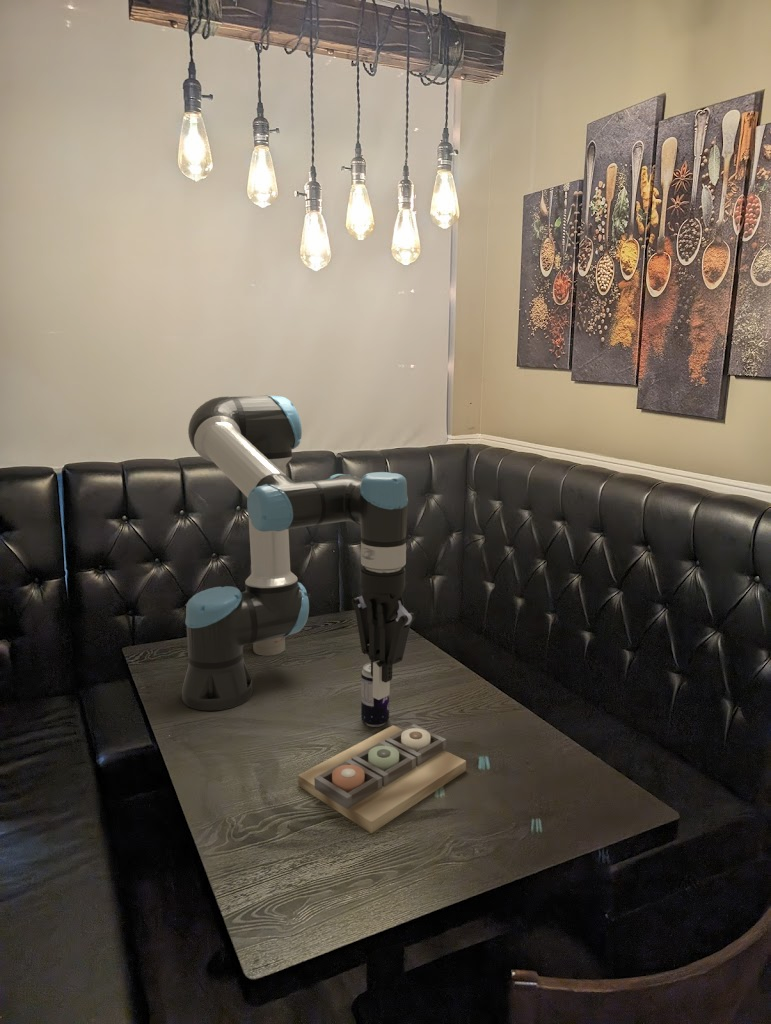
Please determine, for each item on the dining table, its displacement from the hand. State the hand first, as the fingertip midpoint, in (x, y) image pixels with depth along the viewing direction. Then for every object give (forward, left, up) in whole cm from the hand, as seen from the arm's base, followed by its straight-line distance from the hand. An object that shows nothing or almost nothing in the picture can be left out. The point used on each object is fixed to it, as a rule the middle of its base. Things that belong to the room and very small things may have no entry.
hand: (381, 695), depth 122 cm
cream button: (+1, +8, -13) cm, 15 cm away
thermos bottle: (-59, +20, -15) cm, 64 cm away
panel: (+1, 0, -15) cm, 15 cm away
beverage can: (-14, +13, -15) cm, 24 cm away
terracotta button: (+1, -9, -13) cm, 16 cm away
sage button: (+1, 0, -13) cm, 13 cm away
